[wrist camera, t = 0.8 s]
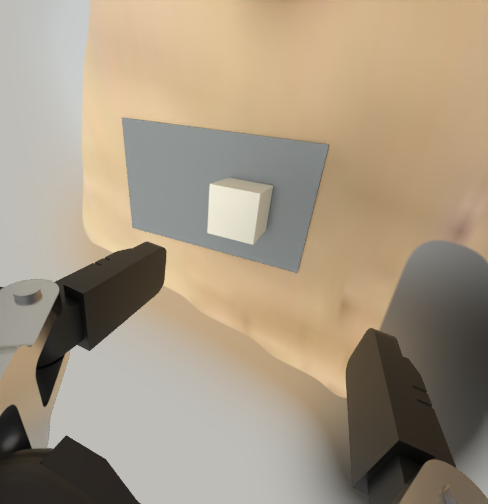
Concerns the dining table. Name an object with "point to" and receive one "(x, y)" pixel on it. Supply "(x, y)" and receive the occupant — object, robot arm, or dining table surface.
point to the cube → (239, 209)
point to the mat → (215, 169)
